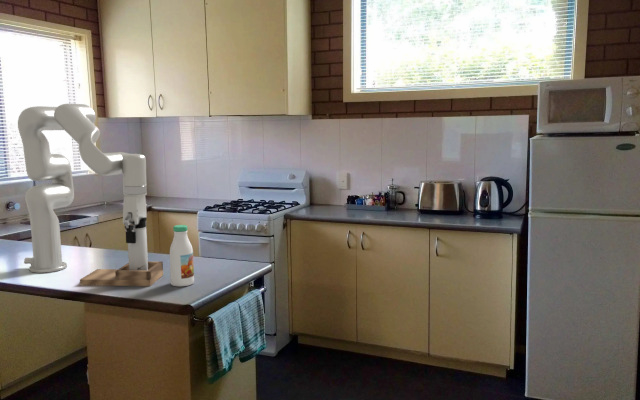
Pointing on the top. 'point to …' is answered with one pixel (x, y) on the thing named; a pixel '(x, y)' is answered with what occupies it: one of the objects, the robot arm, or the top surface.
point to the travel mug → (139, 248)
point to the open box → (125, 276)
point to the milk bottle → (181, 258)
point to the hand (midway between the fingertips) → (136, 239)
